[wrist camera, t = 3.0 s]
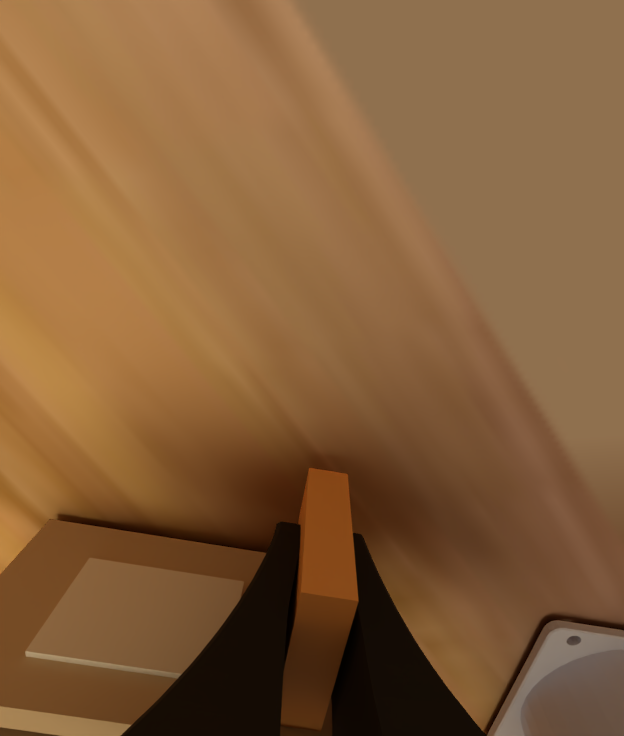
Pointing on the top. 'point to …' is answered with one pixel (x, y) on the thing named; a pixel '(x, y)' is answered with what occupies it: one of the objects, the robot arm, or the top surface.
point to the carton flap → (163, 618)
